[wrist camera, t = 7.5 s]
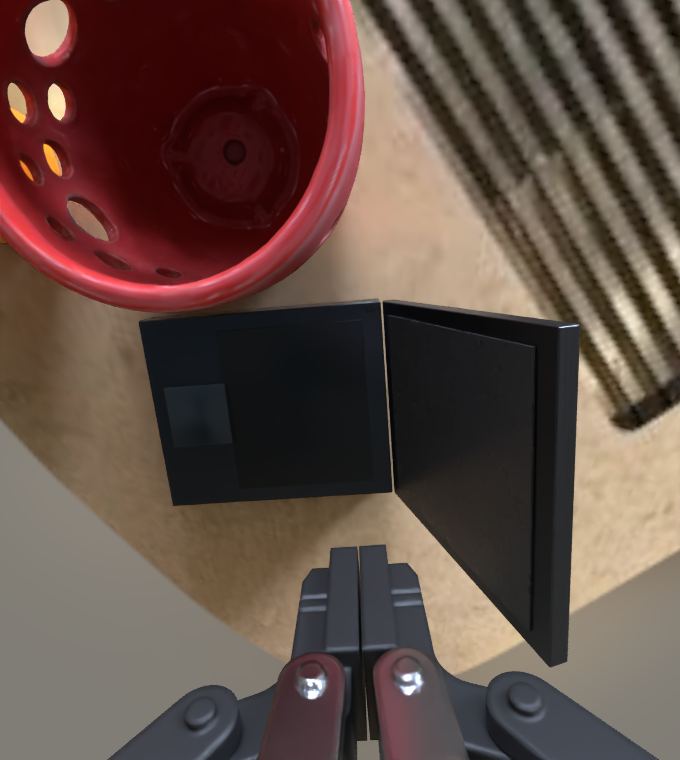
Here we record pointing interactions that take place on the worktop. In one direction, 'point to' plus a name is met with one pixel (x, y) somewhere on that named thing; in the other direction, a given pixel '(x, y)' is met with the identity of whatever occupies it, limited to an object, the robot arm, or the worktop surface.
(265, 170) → the flower pot
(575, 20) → the worktop surface
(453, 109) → the worktop surface
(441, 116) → the worktop surface
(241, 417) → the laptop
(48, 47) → the worktop surface
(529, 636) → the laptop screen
